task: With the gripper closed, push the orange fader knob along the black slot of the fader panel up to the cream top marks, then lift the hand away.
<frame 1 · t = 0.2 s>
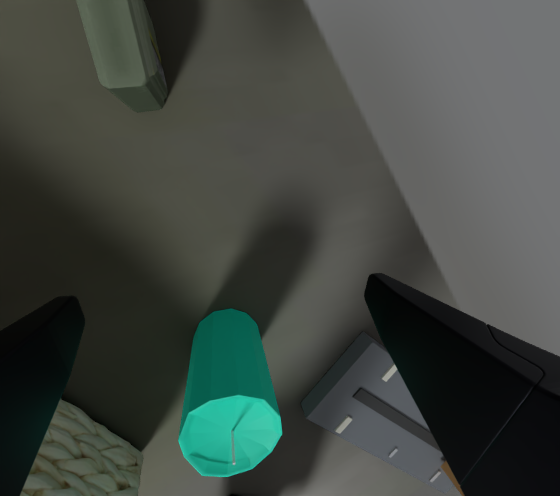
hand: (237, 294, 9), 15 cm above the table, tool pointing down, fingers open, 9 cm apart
fader knob: (472, 475, 32), point 5 cm above the table, slide at 0.0 cm
candle: (227, 336, 27), on the table
fader panel: (402, 413, 34), on the table
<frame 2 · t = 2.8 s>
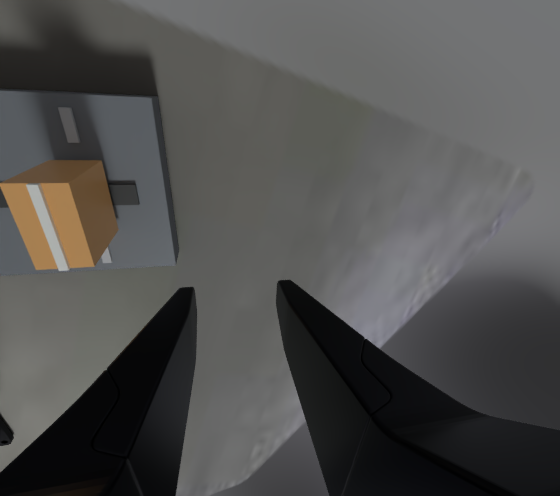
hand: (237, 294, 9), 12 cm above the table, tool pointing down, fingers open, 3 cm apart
fader knob: (70, 212, 14), point 5 cm above the table, slide at 0.0 cm
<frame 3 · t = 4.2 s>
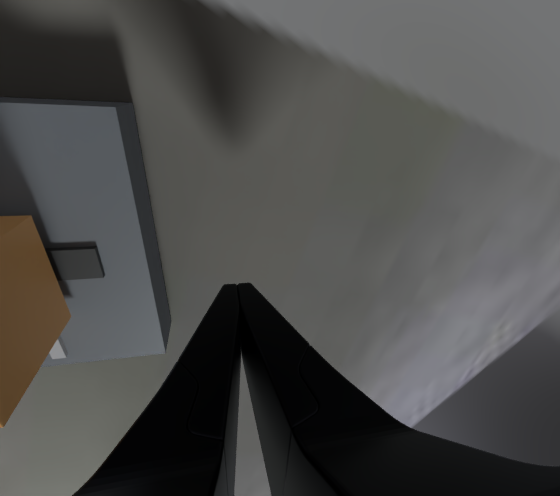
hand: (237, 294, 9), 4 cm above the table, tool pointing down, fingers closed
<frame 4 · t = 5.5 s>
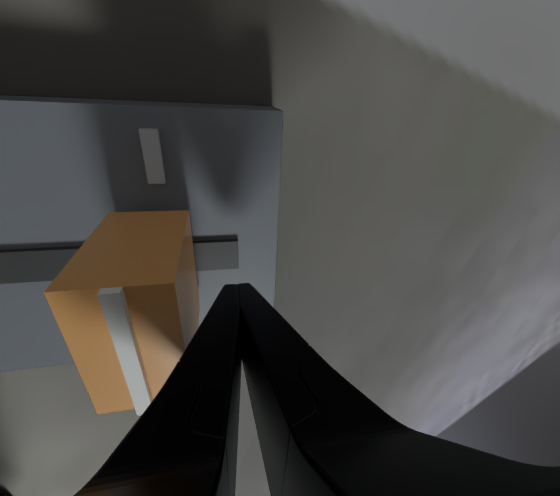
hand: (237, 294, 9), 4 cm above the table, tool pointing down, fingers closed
fader knob: (147, 303, 8), point 5 cm above the table, slide at 0.3 cm, touching gripper
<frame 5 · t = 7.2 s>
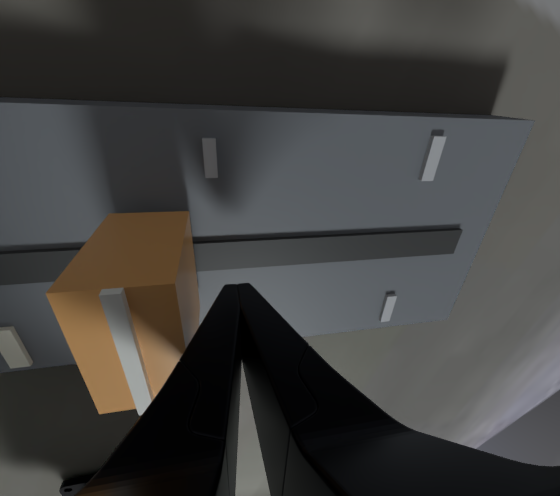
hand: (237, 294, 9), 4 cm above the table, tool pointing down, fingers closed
fader knob: (148, 303, 8), point 5 cm above the table, slide at 10.0 cm, touching gripper
fader panel: (216, 231, 13), on the table
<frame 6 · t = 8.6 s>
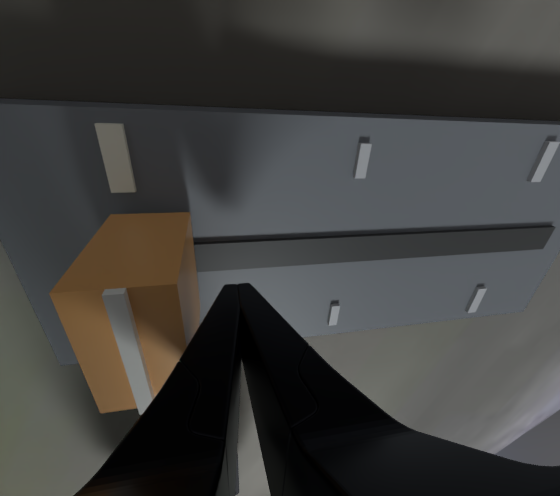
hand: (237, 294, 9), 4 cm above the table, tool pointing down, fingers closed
fader knob: (149, 303, 9), point 5 cm above the table, slide at 15.2 cm, touching gripper
fader panel: (328, 227, 14), on the table
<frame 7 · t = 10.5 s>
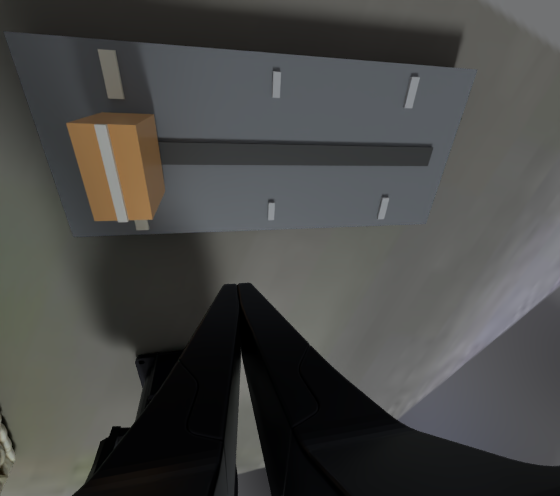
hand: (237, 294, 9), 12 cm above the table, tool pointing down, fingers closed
fader knob: (125, 164, 14), point 5 cm above the table, slide at 15.5 cm
fader panel: (268, 147, 19), on the table
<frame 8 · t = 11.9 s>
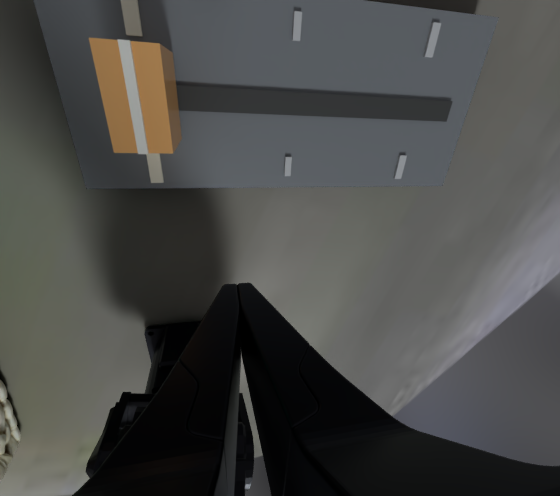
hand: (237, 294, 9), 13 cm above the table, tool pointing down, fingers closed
fader knob: (144, 99, 13), point 5 cm above the table, slide at 15.5 cm
fader panel: (284, 101, 19), on the table
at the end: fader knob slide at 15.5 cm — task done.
